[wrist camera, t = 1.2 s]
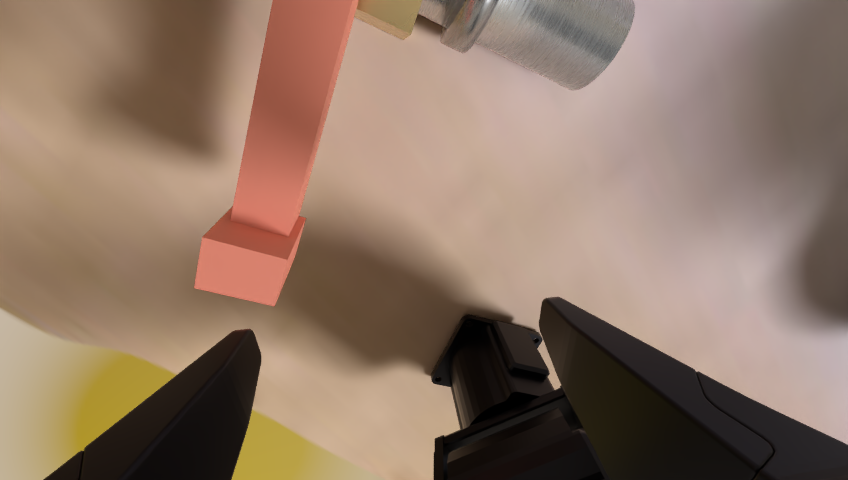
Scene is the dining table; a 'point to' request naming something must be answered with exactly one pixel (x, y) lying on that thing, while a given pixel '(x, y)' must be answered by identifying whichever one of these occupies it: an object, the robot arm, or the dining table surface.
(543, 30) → the valve
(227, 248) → the lever
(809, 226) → the dining table surface
